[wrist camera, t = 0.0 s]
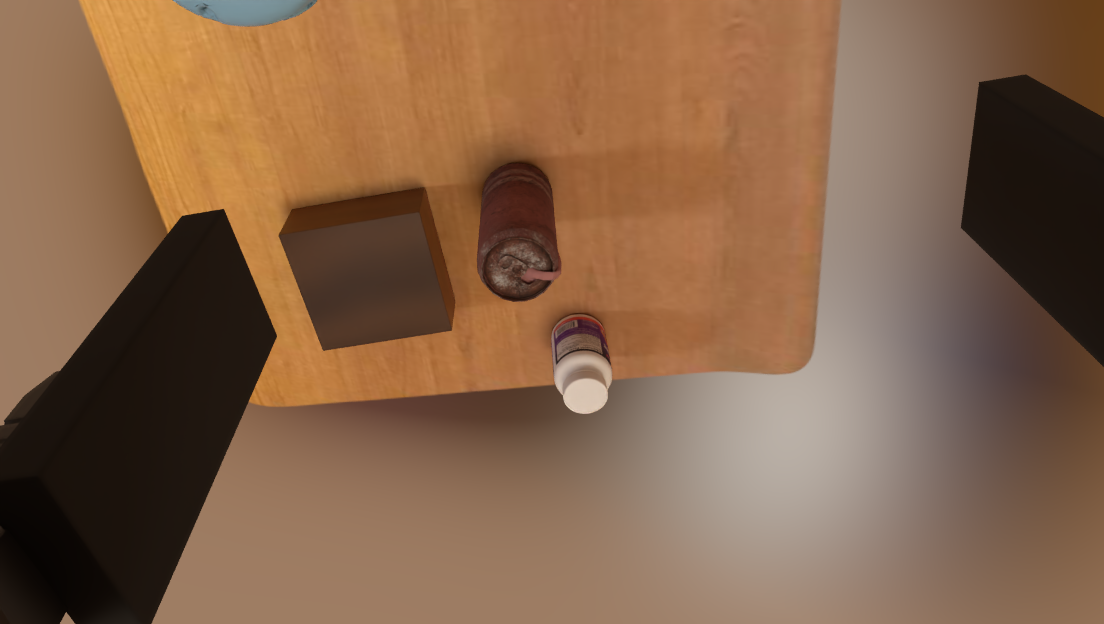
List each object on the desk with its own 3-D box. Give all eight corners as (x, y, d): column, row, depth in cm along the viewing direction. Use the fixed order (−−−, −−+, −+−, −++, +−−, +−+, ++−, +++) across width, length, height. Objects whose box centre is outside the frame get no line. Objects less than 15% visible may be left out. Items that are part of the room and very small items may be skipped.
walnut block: (292, 209, 72) (278, 235, 67) (424, 187, 71) (419, 211, 67) (333, 320, 78) (322, 351, 74) (455, 301, 77) (452, 330, 73)
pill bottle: (599, 360, 82) (608, 423, 74) (546, 353, 81) (550, 416, 73) (610, 315, 79) (622, 376, 71) (556, 308, 78) (561, 368, 70)
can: (554, 223, 73) (562, 305, 62) (484, 224, 73) (478, 306, 61) (555, 160, 70) (563, 234, 58) (481, 160, 70) (474, 235, 58)
